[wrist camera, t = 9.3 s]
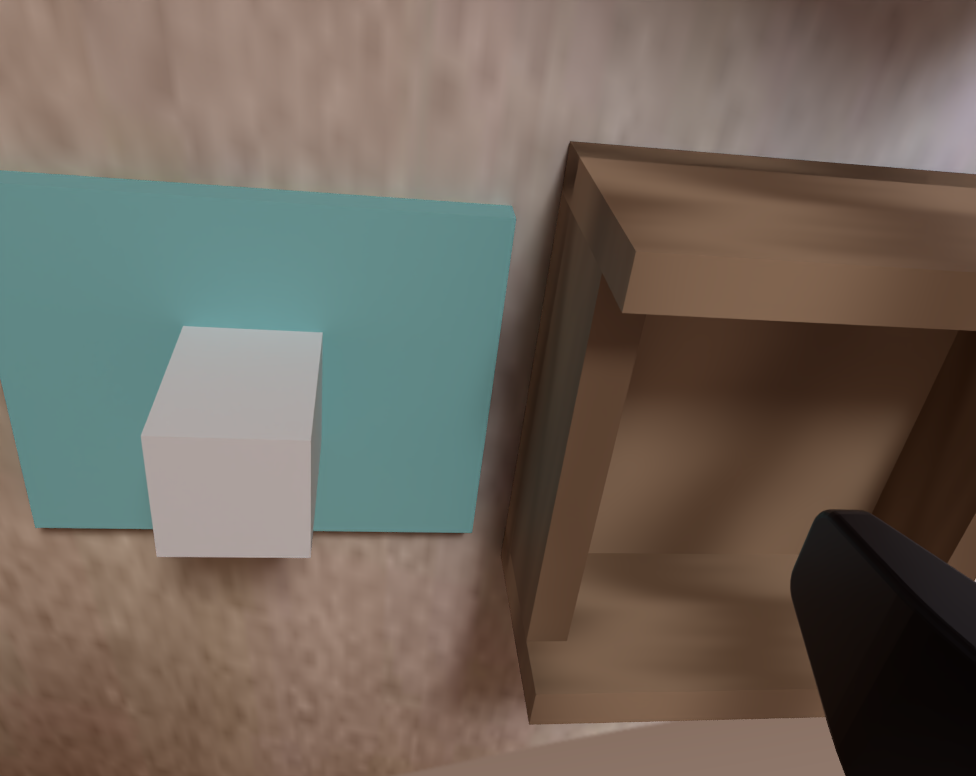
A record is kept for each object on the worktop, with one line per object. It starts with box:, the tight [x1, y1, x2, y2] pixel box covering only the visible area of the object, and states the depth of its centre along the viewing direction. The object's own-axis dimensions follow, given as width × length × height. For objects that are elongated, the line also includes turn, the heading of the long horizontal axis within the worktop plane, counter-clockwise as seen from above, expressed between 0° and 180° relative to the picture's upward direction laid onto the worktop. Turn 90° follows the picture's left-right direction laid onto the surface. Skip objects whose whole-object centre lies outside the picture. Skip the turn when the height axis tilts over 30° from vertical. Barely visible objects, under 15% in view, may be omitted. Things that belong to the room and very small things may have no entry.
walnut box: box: [501, 141, 976, 725], centre depth 20 cm, size 11×12×6 cm
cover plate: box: [0, 170, 516, 558], centre depth 19 cm, size 11×9×5 cm
